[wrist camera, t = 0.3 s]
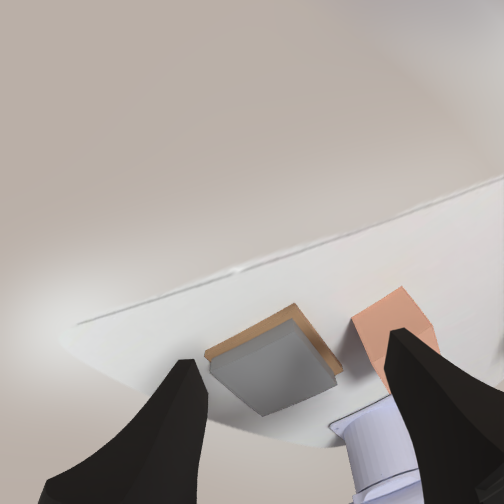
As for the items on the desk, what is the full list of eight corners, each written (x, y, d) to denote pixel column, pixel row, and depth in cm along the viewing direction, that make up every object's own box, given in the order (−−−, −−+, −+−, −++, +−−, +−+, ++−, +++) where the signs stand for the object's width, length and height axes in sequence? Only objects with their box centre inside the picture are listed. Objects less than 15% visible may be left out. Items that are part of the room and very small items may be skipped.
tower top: (333, 371, 22) (337, 385, 20) (262, 403, 23) (262, 416, 22) (291, 317, 19) (294, 331, 18) (211, 358, 21) (209, 372, 20)
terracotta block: (416, 322, 21) (442, 362, 16) (370, 350, 22) (389, 394, 17) (401, 285, 19) (432, 325, 15) (351, 317, 20) (371, 363, 16)
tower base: (339, 358, 23) (343, 370, 22) (262, 395, 25) (262, 407, 24) (293, 296, 21) (295, 308, 19) (206, 343, 22) (204, 356, 21)
